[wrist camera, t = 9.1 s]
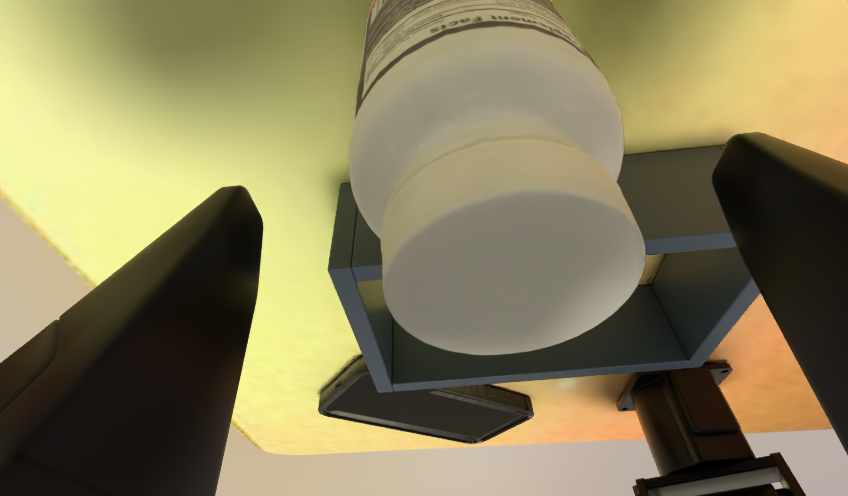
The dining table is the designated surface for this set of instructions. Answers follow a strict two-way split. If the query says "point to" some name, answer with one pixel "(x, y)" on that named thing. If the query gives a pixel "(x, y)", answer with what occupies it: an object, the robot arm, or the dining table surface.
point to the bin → (608, 341)
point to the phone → (425, 407)
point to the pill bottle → (491, 175)
